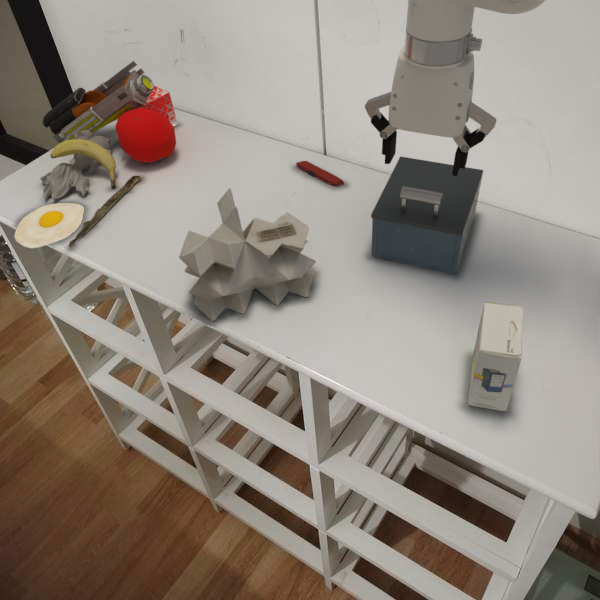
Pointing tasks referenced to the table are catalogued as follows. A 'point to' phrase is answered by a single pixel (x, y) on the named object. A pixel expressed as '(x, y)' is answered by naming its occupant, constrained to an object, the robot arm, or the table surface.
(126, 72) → the toy blaster gun
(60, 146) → the fruit
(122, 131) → the tomato
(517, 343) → the ink box
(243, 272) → the white crumpled paper lump
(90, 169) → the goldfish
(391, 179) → the box lid
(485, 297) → the table surface
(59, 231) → the cracked egg
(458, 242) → the storage bin
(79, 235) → the wooden stick
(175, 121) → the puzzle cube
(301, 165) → the utility knife
